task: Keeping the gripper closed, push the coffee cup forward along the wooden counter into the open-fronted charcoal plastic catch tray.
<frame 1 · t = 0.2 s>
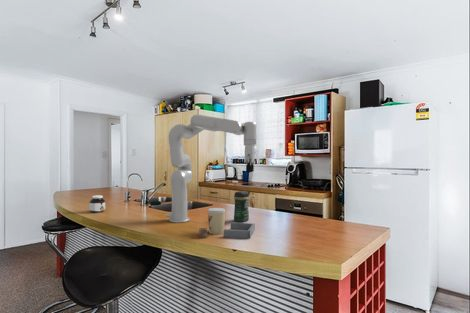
hand: (250, 171, 162), 31 cm above the countertop, fingers open, 9 cm apart
spread jar: (97, 211, 201), on the countertop
catch tray: (238, 233, 143), on the countertop
coffee cup: (216, 232, 145), on the countertop
coffee jar: (241, 221, 172), on the countertop
walnut block: (203, 237, 136), on the countertop
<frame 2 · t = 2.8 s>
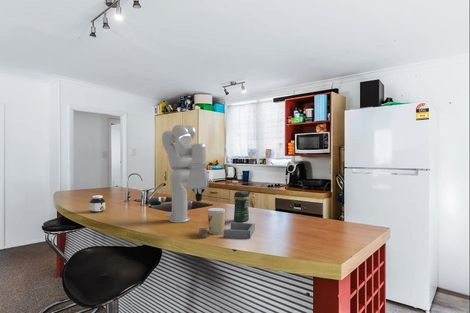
hand: (198, 201, 147), 16 cm above the countertop, fingers closed
nothing on the countertop moved.
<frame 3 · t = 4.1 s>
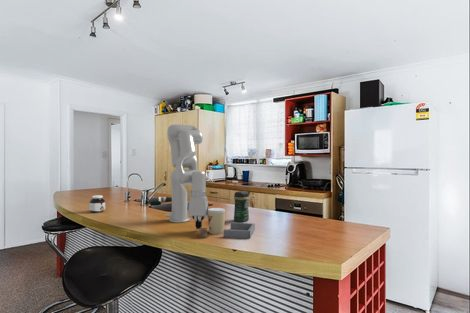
hand: (198, 228, 147), 1 cm above the countertop, fingers closed
nothing on the countertop moved.
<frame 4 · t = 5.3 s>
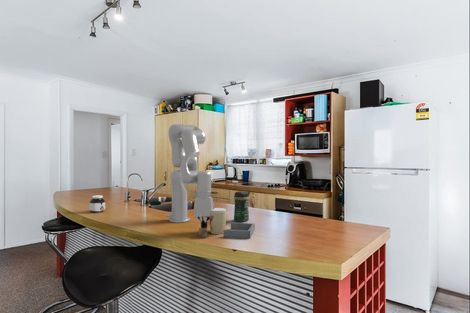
hand: (204, 229, 146), 1 cm above the countertop, fingers closed
coffee cup: (217, 232, 145), on the countertop, touching gripper
everything else where it was.
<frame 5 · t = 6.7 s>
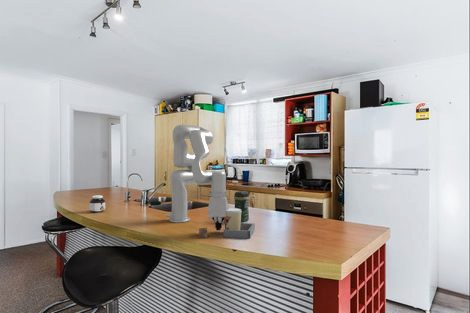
hand: (218, 229, 145), 1 cm above the countertop, fingers closed
coffee cup: (232, 232, 144), on the countertop, touching gripper
everything else where it was.
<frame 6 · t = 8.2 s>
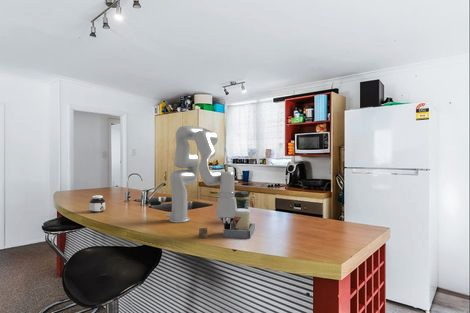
hand: (227, 230, 144), 1 cm above the countertop, fingers closed
coffee cup: (241, 233, 143), resting in catch tray, touching gripper
everything else where it was.
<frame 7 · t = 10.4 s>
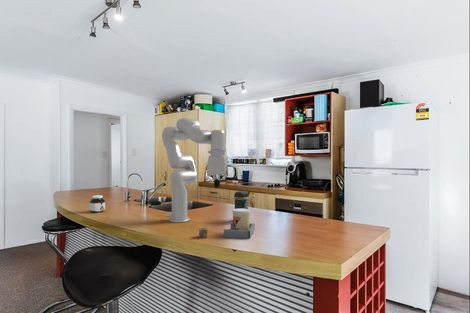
hand: (217, 187, 147), 23 cm above the countertop, fingers closed
coffee cup: (241, 233, 143), resting in catch tray
everything else where it was.
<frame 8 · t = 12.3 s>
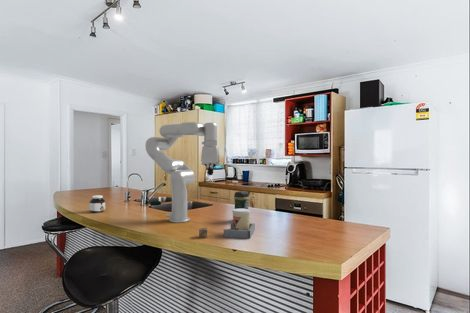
hand: (210, 175, 162), 29 cm above the countertop, fingers closed
nothing on the countertop moved.
at the end: coffee cup inside the target area on the catch tray (2.0 cm from its centre), point 0.0 cm above the catch tray's base; coffee cup tilted 0°; coffee cup moved 13.2 cm from its start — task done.
